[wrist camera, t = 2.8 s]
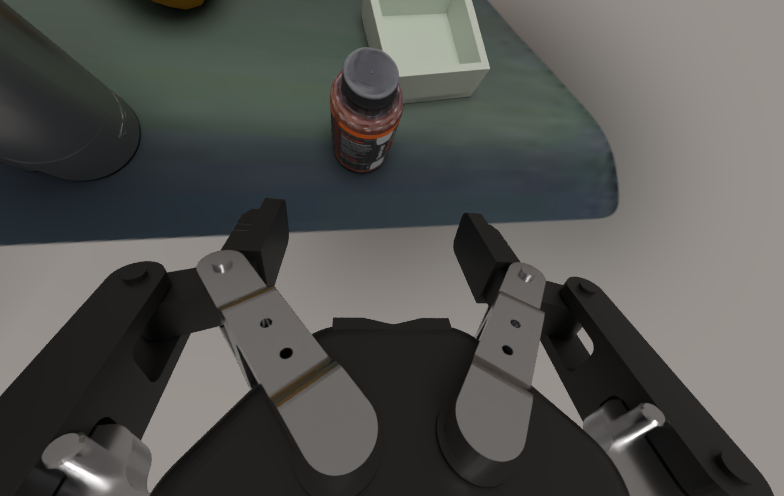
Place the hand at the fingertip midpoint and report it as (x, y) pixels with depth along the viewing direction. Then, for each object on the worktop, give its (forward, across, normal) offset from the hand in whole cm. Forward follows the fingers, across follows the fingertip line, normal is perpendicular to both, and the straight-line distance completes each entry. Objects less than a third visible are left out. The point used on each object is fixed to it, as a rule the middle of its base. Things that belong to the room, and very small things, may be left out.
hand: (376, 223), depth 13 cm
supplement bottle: (+20, 0, +4) cm, 21 cm away
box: (+28, -6, -5) cm, 30 cm away
